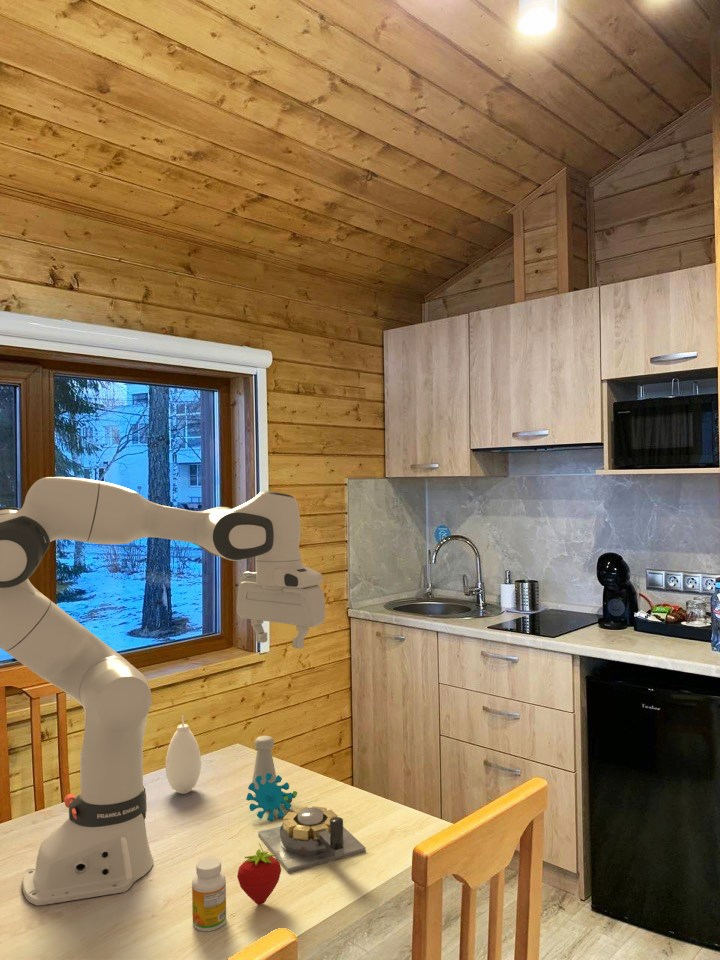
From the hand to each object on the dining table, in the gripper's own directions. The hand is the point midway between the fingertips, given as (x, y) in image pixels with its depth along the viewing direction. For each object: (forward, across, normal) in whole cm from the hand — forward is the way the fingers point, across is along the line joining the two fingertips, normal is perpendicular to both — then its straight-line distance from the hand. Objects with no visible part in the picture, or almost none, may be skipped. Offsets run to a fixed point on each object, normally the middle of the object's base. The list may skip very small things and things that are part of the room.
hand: (279, 644), depth 148 cm
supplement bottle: (+40, +7, -26) cm, 48 cm away
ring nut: (+36, +8, +2) cm, 37 cm away
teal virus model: (+40, -11, +10) cm, 42 cm away
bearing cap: (+40, +4, +4) cm, 40 cm away
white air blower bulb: (+40, -35, +6) cm, 53 cm away
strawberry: (+40, +10, -17) cm, 44 cm away
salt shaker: (+40, -19, +16) cm, 47 cm away
